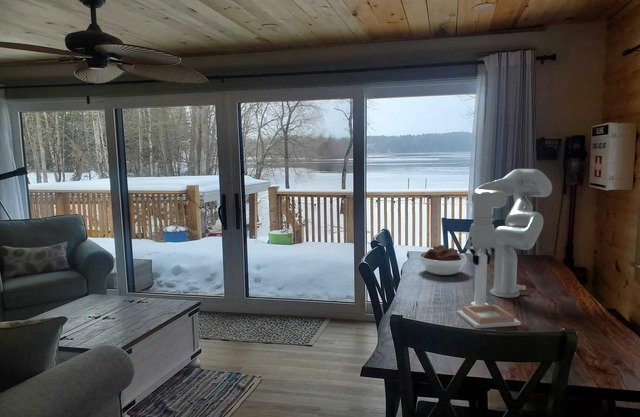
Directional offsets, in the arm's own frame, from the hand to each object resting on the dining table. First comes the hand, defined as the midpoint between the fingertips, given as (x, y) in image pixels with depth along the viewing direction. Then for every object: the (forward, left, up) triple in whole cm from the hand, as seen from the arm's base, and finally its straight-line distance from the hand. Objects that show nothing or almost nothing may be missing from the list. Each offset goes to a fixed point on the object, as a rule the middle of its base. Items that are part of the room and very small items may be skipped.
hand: (481, 263), depth 190 cm
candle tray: (+5, +15, -18) cm, 25 cm away
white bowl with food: (-6, -53, -19) cm, 56 cm away
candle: (0, 0, -19) cm, 19 cm away
